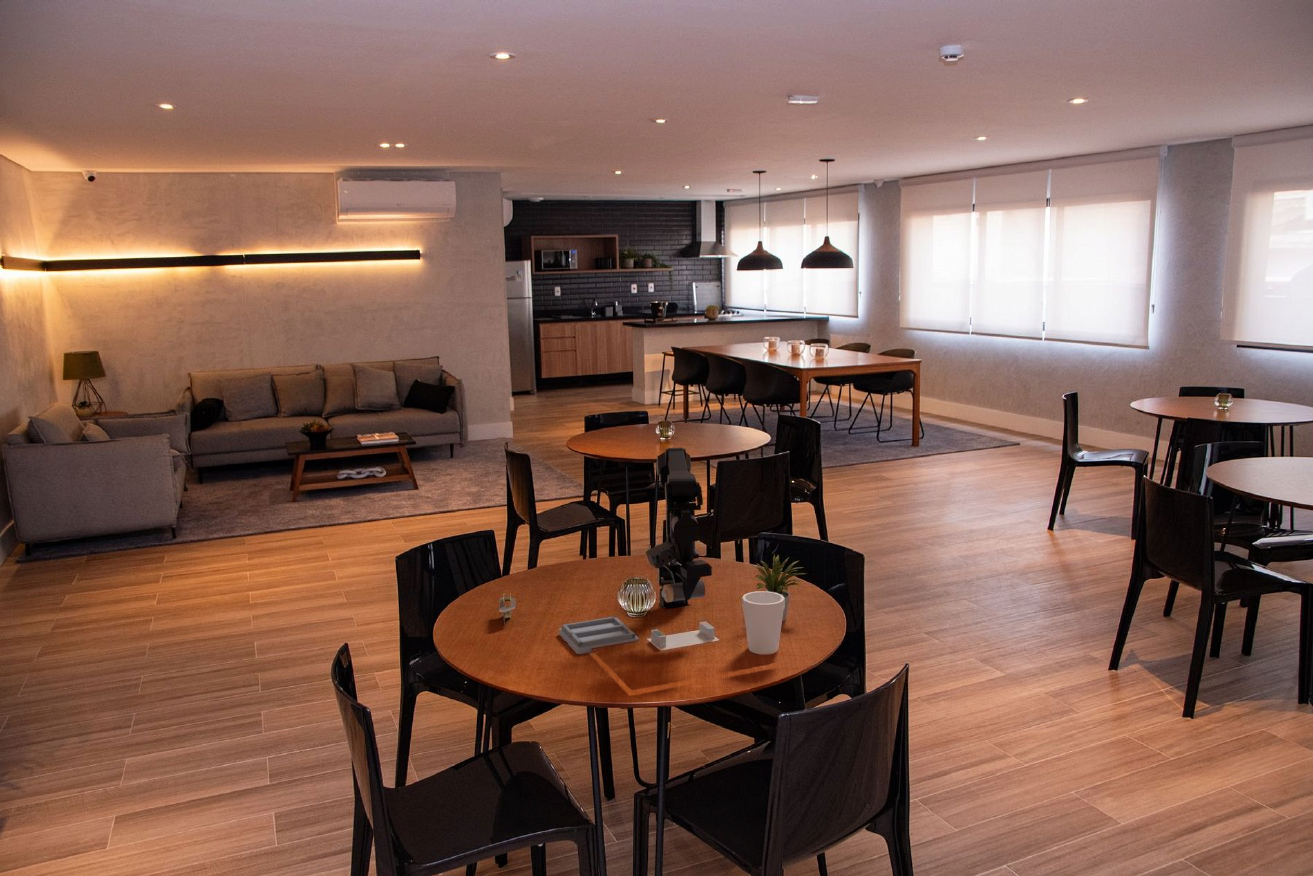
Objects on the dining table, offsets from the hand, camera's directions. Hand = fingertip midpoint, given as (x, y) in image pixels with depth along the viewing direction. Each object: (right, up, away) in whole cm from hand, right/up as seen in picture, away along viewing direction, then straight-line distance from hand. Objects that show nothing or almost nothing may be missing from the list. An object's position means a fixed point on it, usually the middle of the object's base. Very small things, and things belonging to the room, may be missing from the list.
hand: (683, 597), depth 220 cm
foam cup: (+18, -12, -5) cm, 22 cm away
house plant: (+23, -9, +17) cm, 30 cm away
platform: (-43, -10, +19) cm, 49 cm away
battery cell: (0, -1, 0) cm, 1 cm away
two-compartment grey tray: (-20, -11, +5) cm, 23 cm away
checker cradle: (0, -11, +2) cm, 11 cm away
